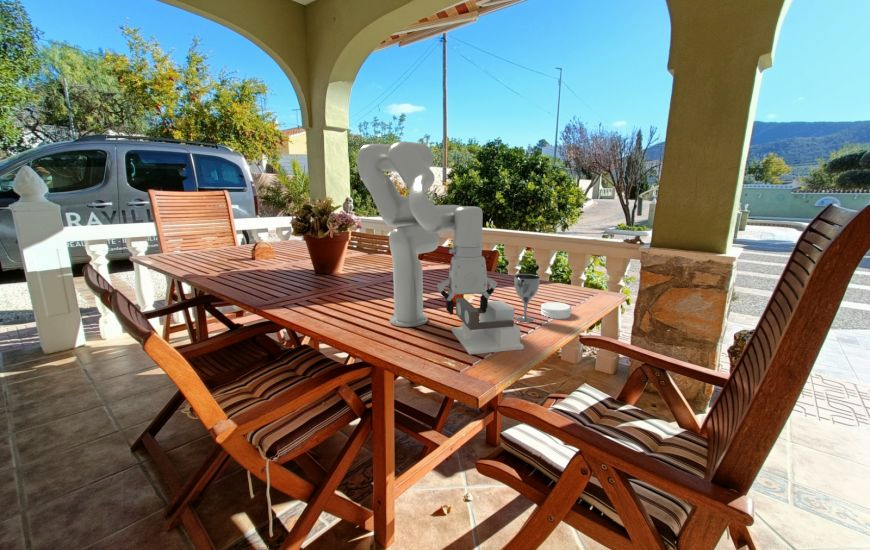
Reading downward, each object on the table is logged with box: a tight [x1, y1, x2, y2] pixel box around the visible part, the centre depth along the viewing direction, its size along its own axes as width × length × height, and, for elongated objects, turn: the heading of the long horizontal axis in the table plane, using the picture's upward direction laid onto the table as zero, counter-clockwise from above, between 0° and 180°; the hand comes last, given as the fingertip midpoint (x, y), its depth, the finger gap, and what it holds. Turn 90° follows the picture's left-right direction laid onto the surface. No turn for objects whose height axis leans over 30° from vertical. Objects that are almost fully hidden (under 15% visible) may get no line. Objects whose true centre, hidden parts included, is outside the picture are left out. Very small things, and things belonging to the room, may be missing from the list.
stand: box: [451, 300, 525, 356], centre depth 111 cm, size 16×18×10 cm
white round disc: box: [540, 301, 572, 320], centre depth 133 cm, size 10×10×4 cm
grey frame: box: [455, 297, 515, 330], centre depth 110 cm, size 12×14×5 cm
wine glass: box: [514, 273, 541, 322], centre depth 126 cm, size 8×8×15 cm
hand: (466, 311), depth 108 cm, fingers open, 9 cm apart
